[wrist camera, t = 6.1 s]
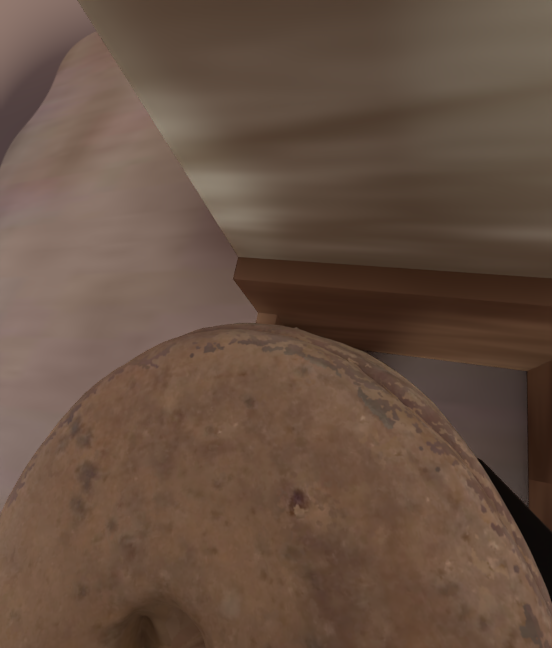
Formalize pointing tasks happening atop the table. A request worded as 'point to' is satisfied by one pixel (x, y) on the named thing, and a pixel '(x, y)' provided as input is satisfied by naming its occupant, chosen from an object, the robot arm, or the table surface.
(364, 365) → the carving
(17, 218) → the table surface
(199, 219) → the table surface
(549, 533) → the robot arm
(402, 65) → the cold frame
